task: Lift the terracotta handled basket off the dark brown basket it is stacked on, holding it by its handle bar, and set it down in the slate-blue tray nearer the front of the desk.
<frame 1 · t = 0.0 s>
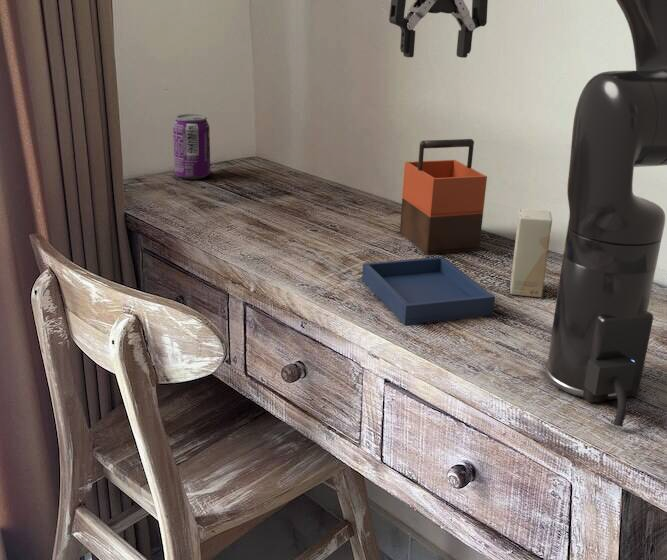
hand: (435, 57, 118), 29 cm above the table, tool pointing down, fingers open, 8 cm apart
beverage can: (192, 177, 164), on the table
box: (525, 291, 114), on the table
top basket: (441, 205, 130), point 6 cm above the table, touching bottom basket
tray: (424, 297, 110), on the table
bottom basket: (438, 241, 132), on the table, touching top basket
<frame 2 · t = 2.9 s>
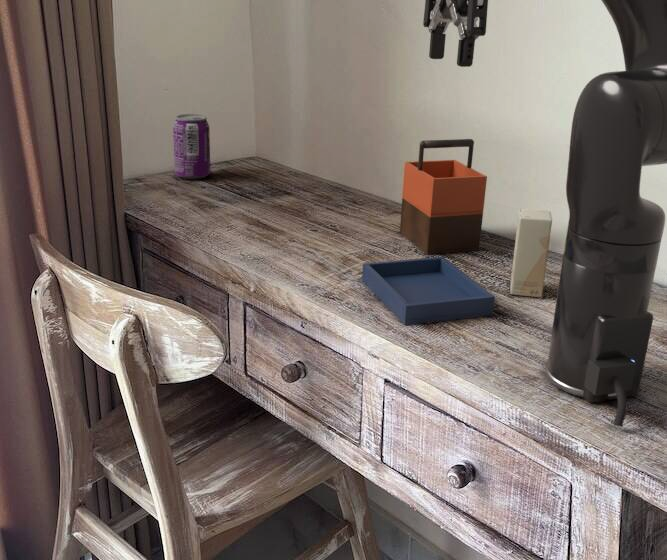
hand: (449, 62, 121), 28 cm above the table, tool pointing down, fingers open, 8 cm apart
nothing on the table moved.
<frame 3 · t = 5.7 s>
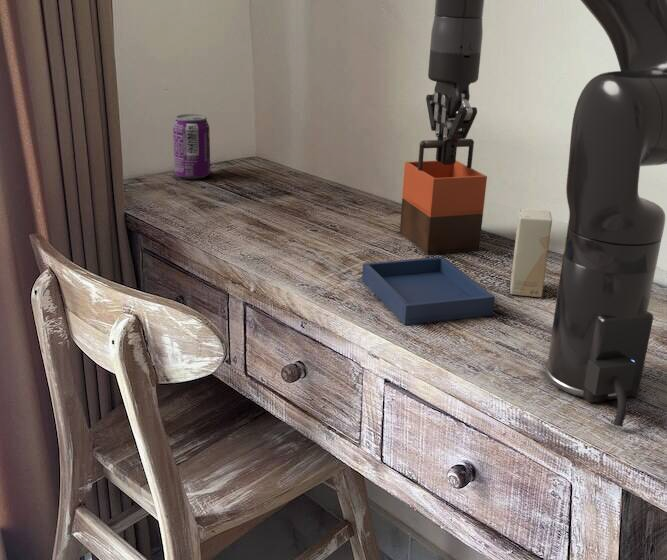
hand: (445, 162, 127), 13 cm above the table, tool pointing down, fingers closed on top basket
top basket: (441, 205, 130), point 6 cm above the table, touching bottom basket, gripper
everything else where it was.
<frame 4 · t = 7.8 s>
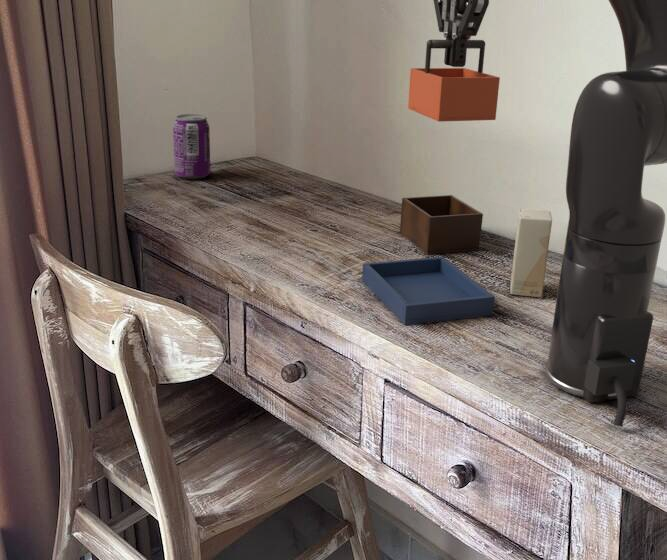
hand: (454, 65, 118), 28 cm above the table, tool pointing down, fingers closed on top basket
top basket: (450, 114, 120), point 21 cm above the table, touching gripper
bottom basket: (438, 241, 132), on the table
everything else where it was.
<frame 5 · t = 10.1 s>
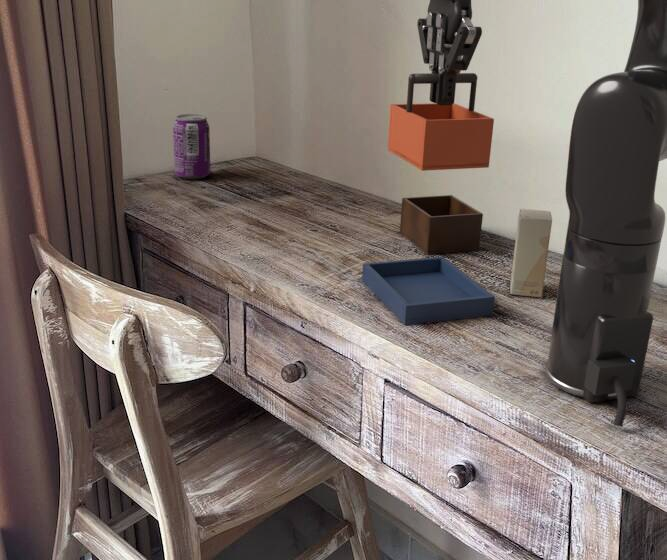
hand: (441, 103, 101), 26 cm above the table, tool pointing down, fingers closed on top basket
top basket: (436, 158, 103), point 19 cm above the table, touching gripper
everything else where it was.
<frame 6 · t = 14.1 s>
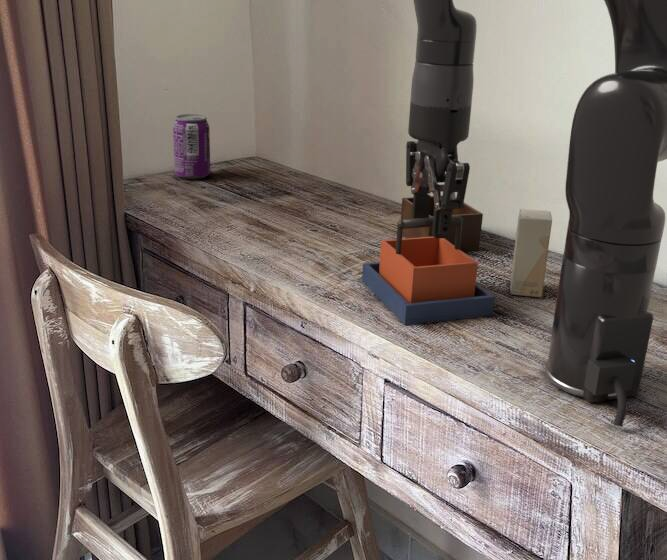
hand: (430, 229, 106), 10 cm above the table, tool pointing down, fingers open, 6 cm apart
top basket: (424, 292, 110), point 1 cm above the table, touching tray
everything else where it was.
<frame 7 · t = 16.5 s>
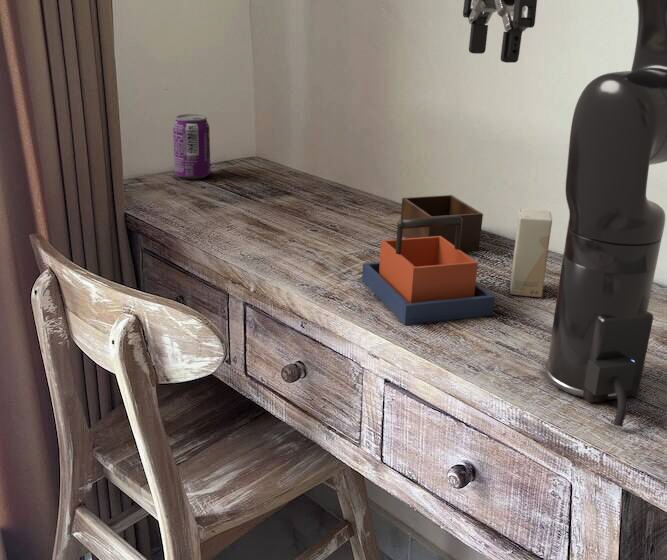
hand: (492, 57, 107), 31 cm above the table, tool pointing down, fingers open, 8 cm apart
nothing on the table moved.
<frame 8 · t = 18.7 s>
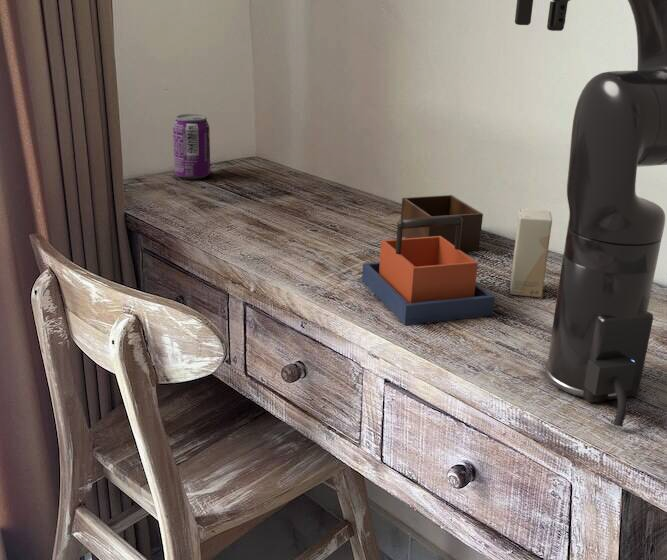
hand: (538, 27, 114), 34 cm above the table, tool pointing down, fingers open, 8 cm apart
nothing on the table moved.
at the end: top basket 0.0 cm off-centre in the tray, point 0.6 cm above the tray's base; top basket tilted 0°; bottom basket moved 0.0 cm from its start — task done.
